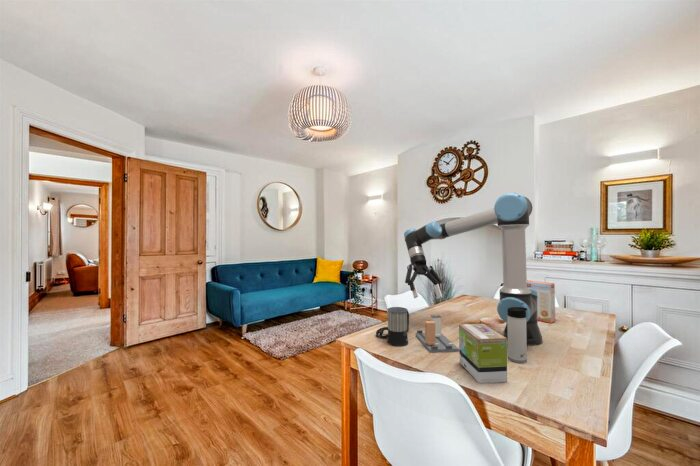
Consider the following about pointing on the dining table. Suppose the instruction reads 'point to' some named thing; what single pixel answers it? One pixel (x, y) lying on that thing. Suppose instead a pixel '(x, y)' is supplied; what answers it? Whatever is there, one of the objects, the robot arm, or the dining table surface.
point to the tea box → (483, 353)
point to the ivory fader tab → (437, 324)
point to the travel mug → (517, 334)
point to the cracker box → (544, 300)
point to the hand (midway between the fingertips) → (428, 297)
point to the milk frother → (396, 326)
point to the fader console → (435, 340)
